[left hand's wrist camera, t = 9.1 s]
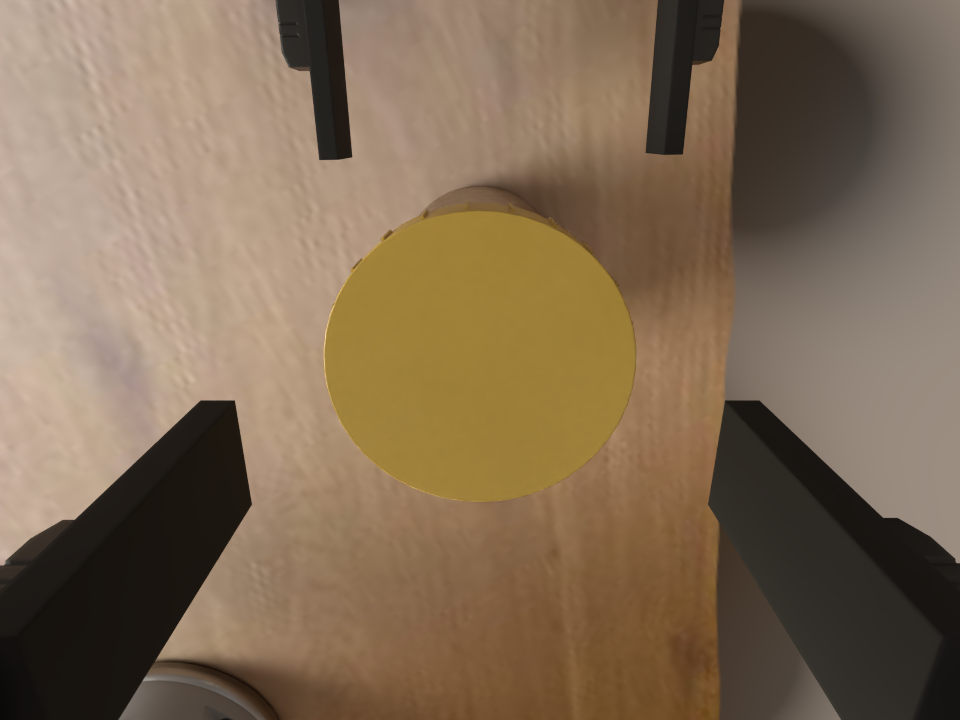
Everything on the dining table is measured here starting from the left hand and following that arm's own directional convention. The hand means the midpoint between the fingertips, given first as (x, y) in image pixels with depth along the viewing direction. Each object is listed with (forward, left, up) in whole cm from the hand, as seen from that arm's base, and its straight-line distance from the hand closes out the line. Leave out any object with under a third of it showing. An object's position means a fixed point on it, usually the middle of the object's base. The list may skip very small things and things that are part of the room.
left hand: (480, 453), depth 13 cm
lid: (0, 0, -5) cm, 5 cm away
